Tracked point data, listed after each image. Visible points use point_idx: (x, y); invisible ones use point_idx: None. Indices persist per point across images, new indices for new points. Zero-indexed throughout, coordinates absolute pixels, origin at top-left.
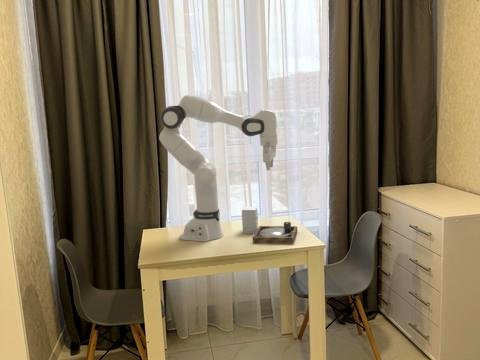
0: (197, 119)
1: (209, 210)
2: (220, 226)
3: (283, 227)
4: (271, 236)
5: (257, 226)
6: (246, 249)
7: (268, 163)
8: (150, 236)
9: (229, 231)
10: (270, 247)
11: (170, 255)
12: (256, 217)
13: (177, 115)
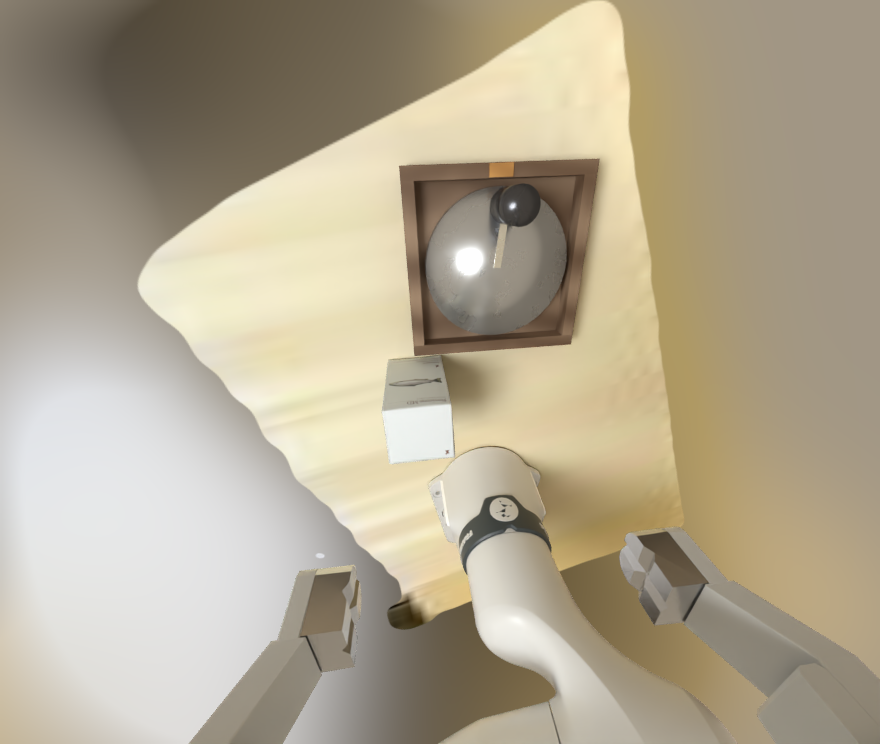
0: None
1: (549, 551)
2: (484, 475)
3: (417, 243)
4: (563, 272)
5: (402, 364)
6: (625, 339)
7: (850, 679)
8: None
9: None
10: (616, 259)
11: (640, 503)
12: (423, 383)
13: None
